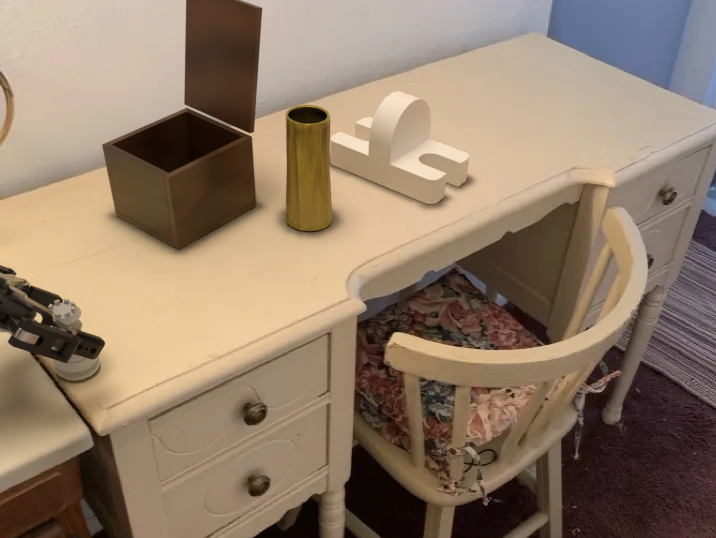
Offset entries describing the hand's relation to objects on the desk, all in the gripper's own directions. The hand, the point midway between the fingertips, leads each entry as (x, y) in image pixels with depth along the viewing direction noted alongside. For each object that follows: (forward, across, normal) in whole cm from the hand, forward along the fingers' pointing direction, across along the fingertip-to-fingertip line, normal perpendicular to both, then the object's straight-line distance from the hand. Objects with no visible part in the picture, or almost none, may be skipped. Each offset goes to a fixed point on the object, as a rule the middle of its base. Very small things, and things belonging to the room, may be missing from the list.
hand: (77, 327), depth 83 cm
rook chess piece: (+3, 0, +4) cm, 5 cm away
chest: (+21, +19, -14) cm, 31 cm away
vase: (+29, +8, -21) cm, 36 cm away
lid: (+14, +20, -31) cm, 40 cm away
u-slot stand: (+41, +10, -34) cm, 54 cm away
